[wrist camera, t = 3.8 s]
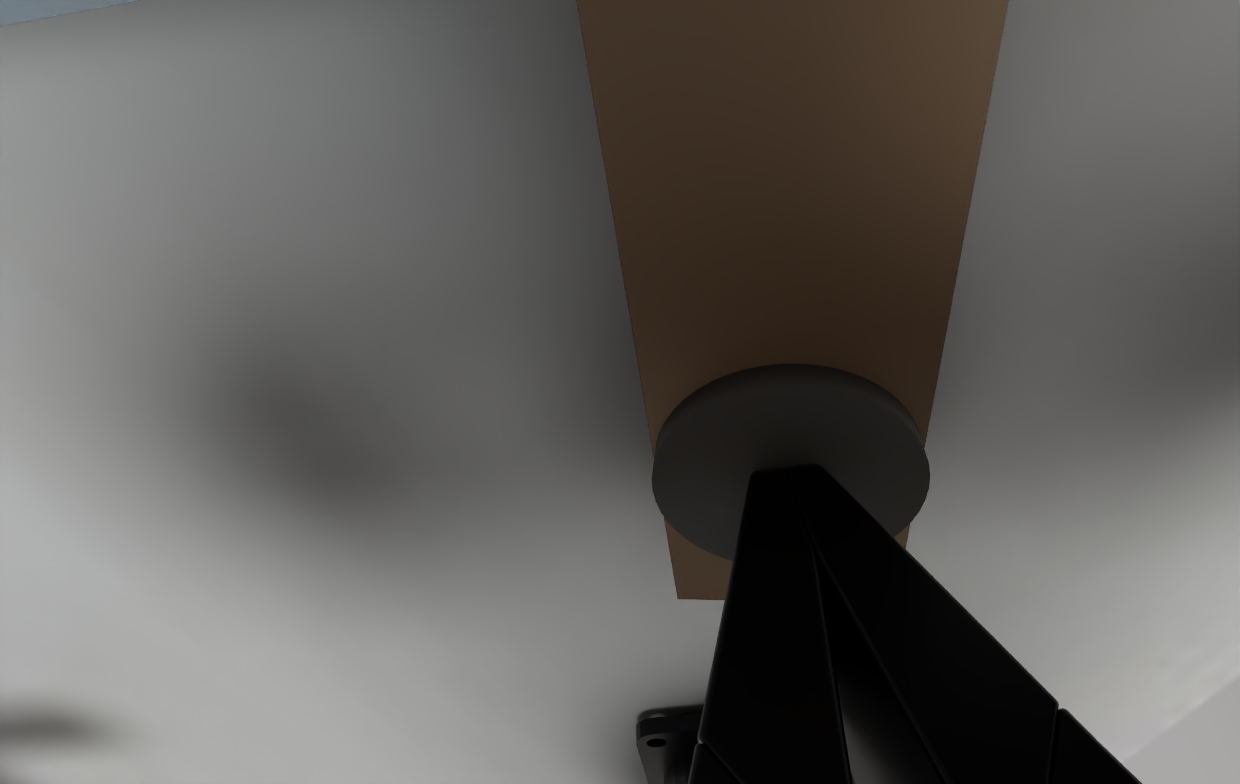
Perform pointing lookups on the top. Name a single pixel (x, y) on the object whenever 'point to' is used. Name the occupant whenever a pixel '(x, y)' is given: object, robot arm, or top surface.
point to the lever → (788, 239)
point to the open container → (47, 8)
